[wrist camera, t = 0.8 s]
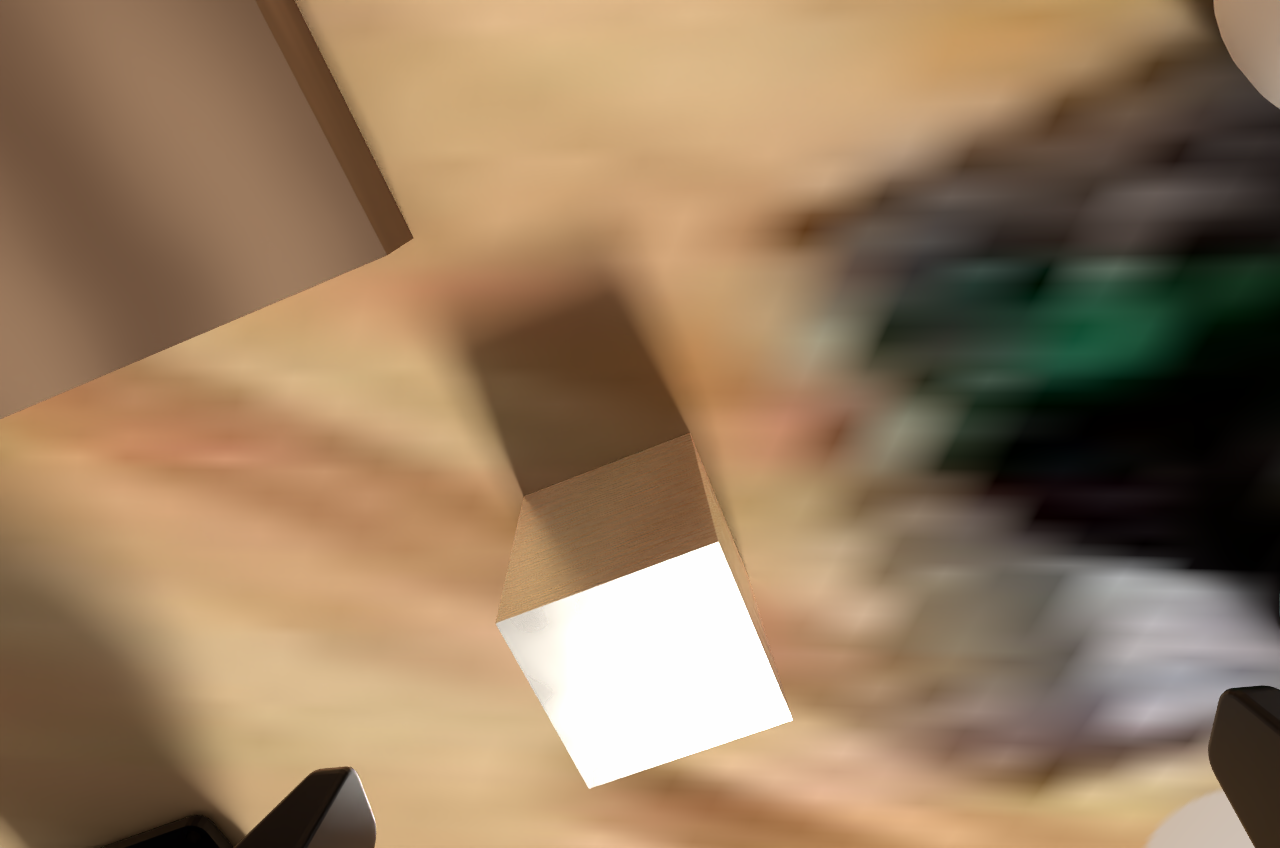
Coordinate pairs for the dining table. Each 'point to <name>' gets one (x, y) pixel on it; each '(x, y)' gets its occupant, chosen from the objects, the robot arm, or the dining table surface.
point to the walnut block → (166, 180)
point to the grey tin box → (638, 615)
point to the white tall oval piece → (1253, 41)
